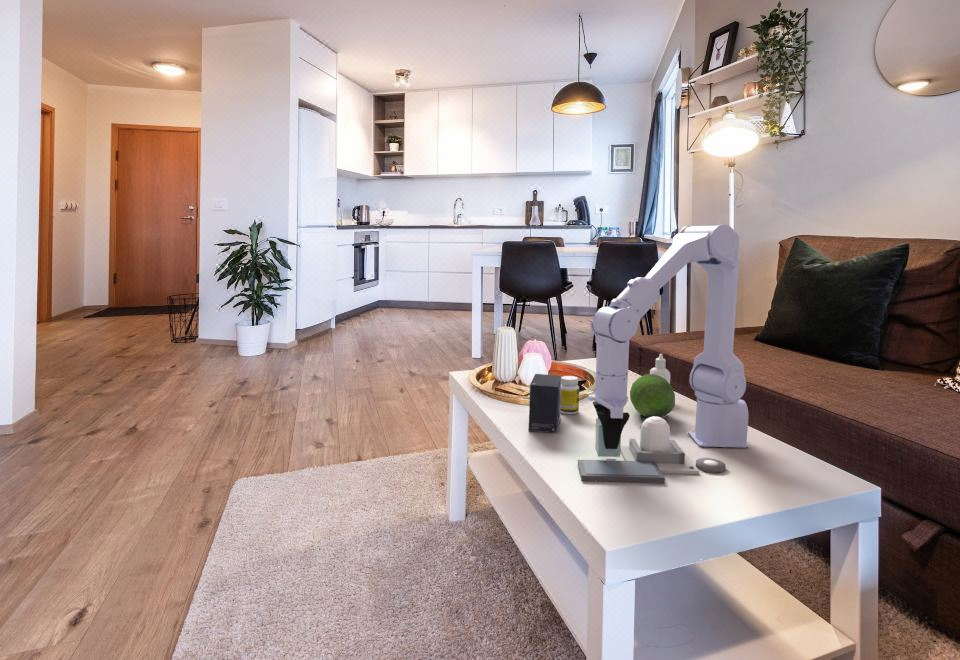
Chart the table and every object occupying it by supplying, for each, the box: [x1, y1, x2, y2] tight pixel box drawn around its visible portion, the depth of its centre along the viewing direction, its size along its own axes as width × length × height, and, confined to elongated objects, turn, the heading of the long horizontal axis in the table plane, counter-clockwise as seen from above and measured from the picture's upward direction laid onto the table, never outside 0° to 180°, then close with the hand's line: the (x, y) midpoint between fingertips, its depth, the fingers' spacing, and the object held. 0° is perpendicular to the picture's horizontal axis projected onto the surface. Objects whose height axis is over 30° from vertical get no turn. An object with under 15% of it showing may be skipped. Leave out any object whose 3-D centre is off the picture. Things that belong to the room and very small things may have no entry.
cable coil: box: [695, 457, 727, 474], centre depth 104 cm, size 5×5×1 cm
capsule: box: [639, 416, 671, 452], centre depth 108 cm, size 5×5×8 cm
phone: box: [577, 458, 666, 484], centre depth 101 cm, size 14×7×1 cm, turn 86°
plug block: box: [594, 417, 622, 458], centre depth 106 cm, size 4×4×7 cm
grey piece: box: [620, 438, 700, 475], centre depth 107 cm, size 12×12×2 cm
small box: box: [528, 373, 562, 434], centre depth 127 cm, size 11×6×10 cm, turn 168°
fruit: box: [629, 373, 676, 419], centre depth 134 cm, size 15×10×10 cm, turn 172°
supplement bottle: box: [560, 375, 580, 415], centre depth 136 cm, size 5×5×8 cm
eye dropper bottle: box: [649, 353, 671, 385], centre depth 146 cm, size 4×6×12 cm
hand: (609, 443), depth 106 cm, fingers closed on plug block, 4 cm apart
